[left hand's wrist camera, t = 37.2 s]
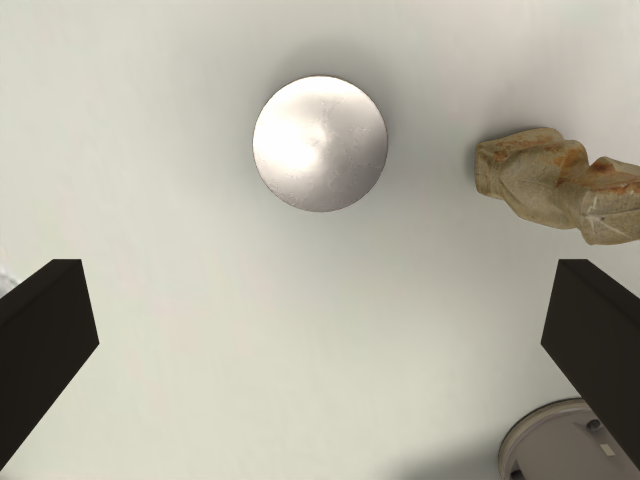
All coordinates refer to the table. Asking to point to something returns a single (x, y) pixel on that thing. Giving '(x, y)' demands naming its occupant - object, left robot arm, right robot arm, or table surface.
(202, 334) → the table surface
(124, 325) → the table surface
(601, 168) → the sculpture
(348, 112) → the lid
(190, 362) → the table surface
